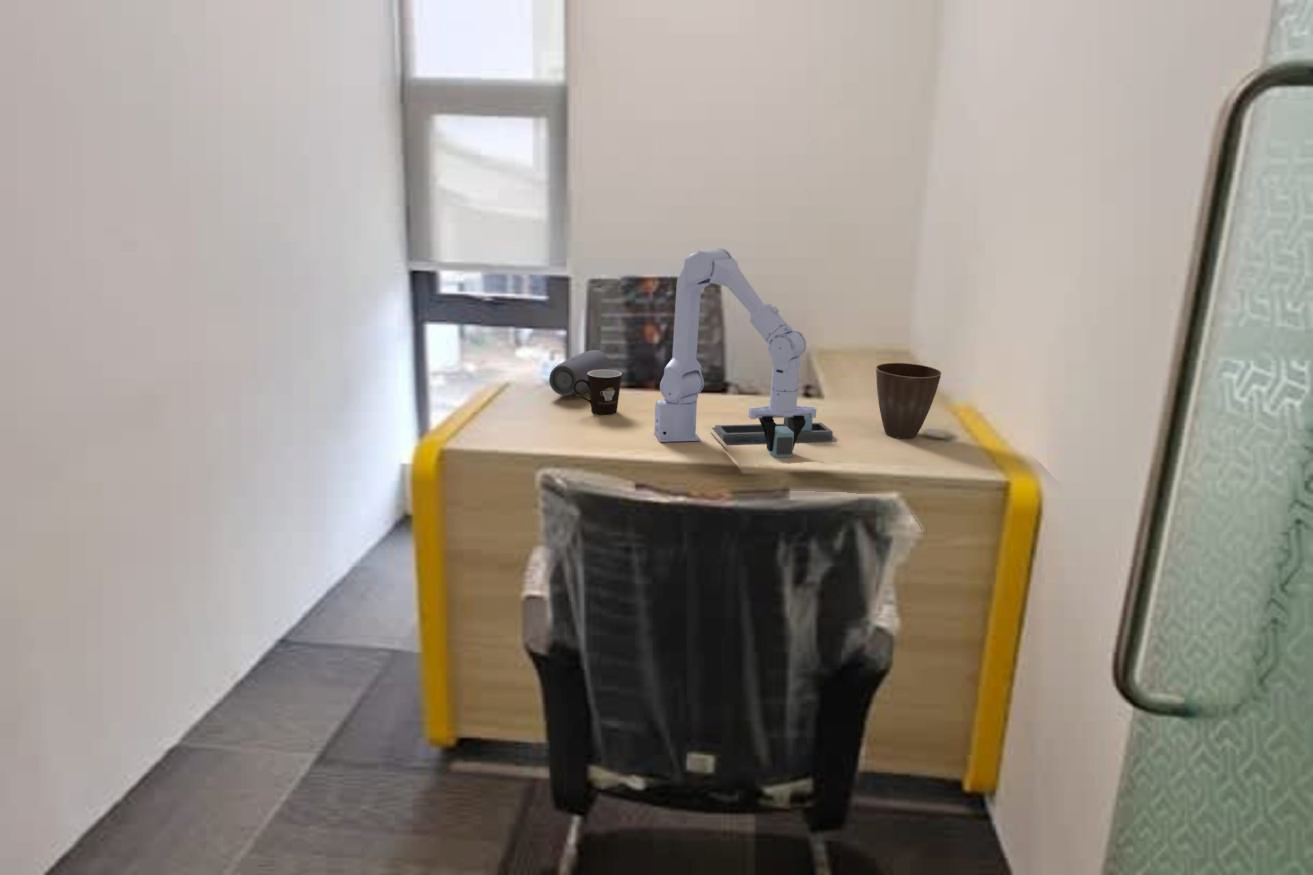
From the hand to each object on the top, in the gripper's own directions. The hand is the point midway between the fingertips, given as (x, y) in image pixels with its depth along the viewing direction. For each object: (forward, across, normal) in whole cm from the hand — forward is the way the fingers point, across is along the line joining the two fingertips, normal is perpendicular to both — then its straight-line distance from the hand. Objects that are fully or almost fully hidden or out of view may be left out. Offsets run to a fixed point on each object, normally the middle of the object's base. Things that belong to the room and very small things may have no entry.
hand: (779, 449), depth 202 cm
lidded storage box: (+1, 0, 0) cm, 1 cm away
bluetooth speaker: (+3, -36, +65) cm, 74 cm away
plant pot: (+2, +36, +16) cm, 39 cm away
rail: (+2, +3, +14) cm, 15 cm away
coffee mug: (+3, -34, +43) cm, 55 cm away
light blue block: (+1, +9, +14) cm, 17 cm away
